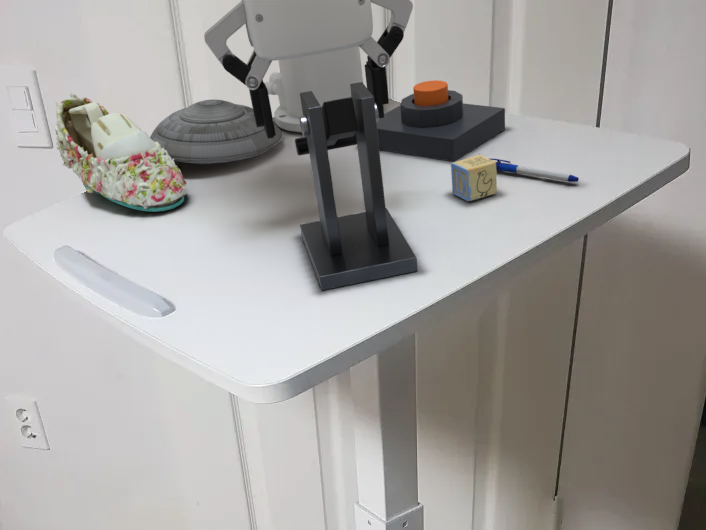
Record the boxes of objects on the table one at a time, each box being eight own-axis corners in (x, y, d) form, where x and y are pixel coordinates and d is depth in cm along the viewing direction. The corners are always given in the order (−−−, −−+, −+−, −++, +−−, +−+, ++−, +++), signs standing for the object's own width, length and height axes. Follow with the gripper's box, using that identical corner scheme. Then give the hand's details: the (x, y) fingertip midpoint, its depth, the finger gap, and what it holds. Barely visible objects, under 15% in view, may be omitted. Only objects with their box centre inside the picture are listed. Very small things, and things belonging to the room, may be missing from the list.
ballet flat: (130, 229, 82) (104, 146, 77) (36, 173, 97) (9, 101, 92) (212, 198, 86) (192, 117, 81) (109, 148, 101) (88, 78, 96)
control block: (362, 147, 92) (358, 108, 89) (415, 117, 98) (413, 80, 95) (454, 161, 86) (452, 120, 83) (505, 129, 91) (504, 89, 89)
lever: (298, 162, 76) (293, 134, 76) (357, 151, 77) (352, 123, 76) (308, 139, 64) (302, 105, 63) (379, 126, 64) (373, 92, 64)
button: (407, 106, 89) (406, 89, 88) (427, 96, 91) (426, 79, 90) (435, 110, 87) (434, 92, 86) (455, 99, 89) (454, 81, 88)
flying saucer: (145, 141, 100) (135, 90, 96) (270, 127, 103) (265, 78, 99) (156, 181, 88) (146, 125, 85) (296, 164, 92) (291, 110, 88)
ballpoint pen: (479, 169, 83) (479, 158, 82) (484, 166, 84) (484, 155, 83) (576, 184, 78) (576, 173, 77) (580, 181, 78) (581, 170, 78)
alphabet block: (451, 194, 80) (450, 161, 78) (479, 185, 81) (478, 152, 79) (468, 203, 78) (467, 170, 76) (497, 194, 78) (497, 161, 76)
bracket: (302, 237, 76) (275, 85, 68) (387, 220, 77) (371, 67, 68) (321, 290, 68) (294, 125, 59) (417, 271, 69) (404, 105, 60)
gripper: (390, -134, 67) (408, 96, 78) (173, -101, 65) (223, 129, 76) (413, -130, 61) (429, 118, 72) (176, -94, 59) (230, 154, 70)
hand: (323, 124), depth 74 cm, fingers open, 9 cm apart
